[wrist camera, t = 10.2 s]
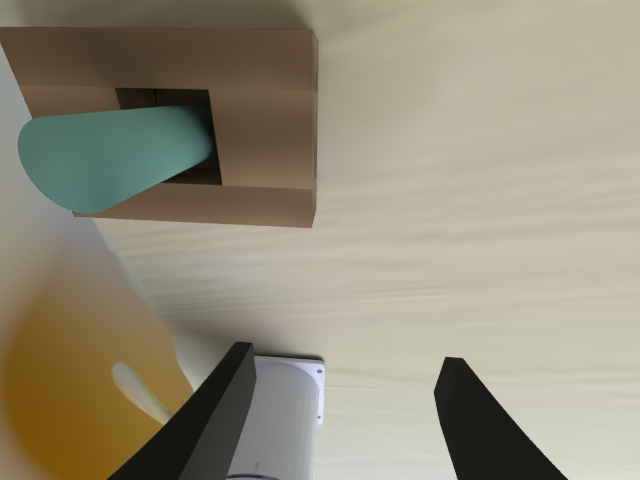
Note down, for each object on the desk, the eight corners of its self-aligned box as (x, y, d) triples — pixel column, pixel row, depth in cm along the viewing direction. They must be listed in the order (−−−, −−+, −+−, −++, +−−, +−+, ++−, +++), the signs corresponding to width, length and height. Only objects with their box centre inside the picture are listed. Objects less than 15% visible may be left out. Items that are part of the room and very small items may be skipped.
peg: (227, 159, 17) (129, 216, 9) (180, 156, 17) (43, 211, 9) (221, 105, 16) (98, 119, 8) (169, 102, 16) (-2, 114, 8)
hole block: (316, 208, 18) (311, 228, 16) (111, 199, 19) (74, 216, 16) (318, 40, 14) (312, 29, 11) (55, 38, 15) (-7, 26, 12)
